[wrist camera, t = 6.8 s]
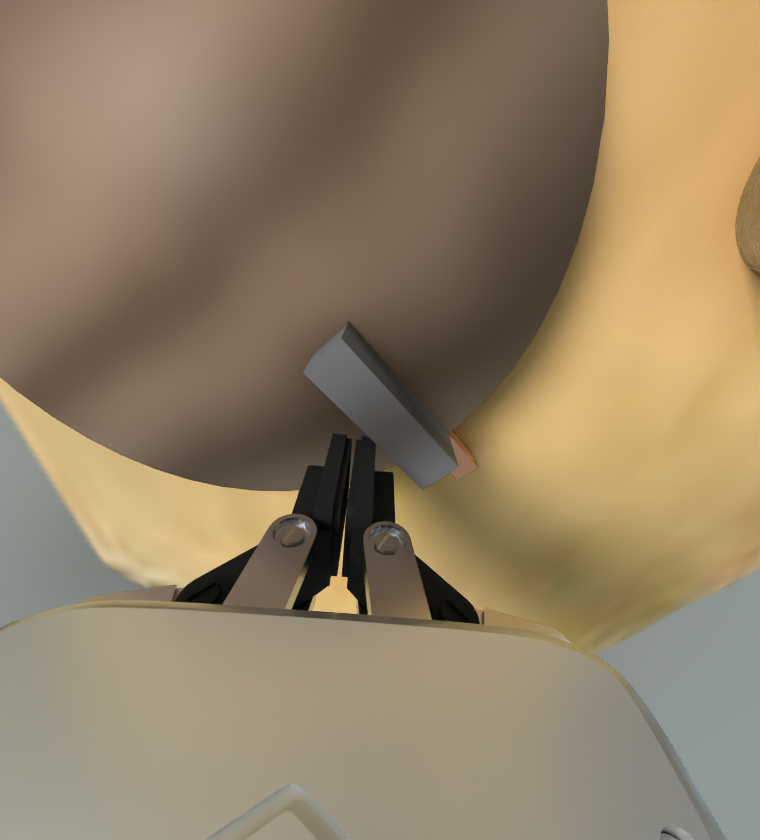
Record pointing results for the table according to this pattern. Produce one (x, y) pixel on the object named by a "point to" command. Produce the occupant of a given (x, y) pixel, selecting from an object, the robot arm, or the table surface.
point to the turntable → (287, 219)
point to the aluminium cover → (750, 221)
